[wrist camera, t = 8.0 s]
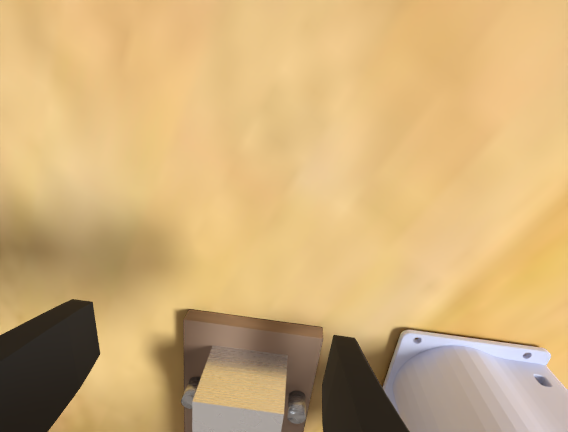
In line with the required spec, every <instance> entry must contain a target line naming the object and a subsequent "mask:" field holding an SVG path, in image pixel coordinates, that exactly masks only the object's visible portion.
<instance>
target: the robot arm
mask: <svg viewBox="0 0 568 432" xmlns="http://www.w3.org/2000/svg"><path fill="white" fill-rule="evenodd" d="M415 338H418V339H415ZM99 355H100V350H99V343H98V336H97V329H96V322H95V315H94V309H93V302H89V301H82V300H74V299H72V300H70V301H68V302H65V303H63V304H61V305H59V306H57V307H55V308H53V309H51V310H49V311H47V312H45V313H43V314H41V315H39V316H37V317H35V318H33V319H31V320H29V321H27V322H25V323H23V324H22V325H20V326H18V327H16V328H14V329H12V330H10V331H8V332H6V333H4V334H2V335H0V432H48V430H49V429H50V428H51V426H52V425H53V424H54V423H55V421H56V420H57V419H58V417H59V416H60V415H61V413H62V412H63V411H64V409H65V408H66V406H67V405H68V404H69V402H70V401H71V400H72V398H73V397H74V396H75V394H76V393H77V392H78V390H79V389H80V387H81V386H82V384H83V382H84V381H85V379H86V377H87V376H88V374H89V373H90V371H91V369H92V367H93V366H94V364H95V362H96V360H97V359H98V357H99ZM550 358H551V354H550V353H549V352H548V351H547V350H546V349H545V348H540V347H533V346H526V345H518V344H511V343H504V342H496V341H489V340H482V339H474V338H467V337H460V336H452V335H445V334H438V333H430V332H423V331H416V330H405V331H403V332H402V333H401V334H400V337H399V340H398V343H397V346H396V349H395V352H394V355H393V358H392V361H391V364H390V367H389V370H388V373H387V376H386V379H385V382H384V385H383V388H382V386H381V384H380V383H379V381H378V379H377V377H376V376H375V374H374V372H373V370H372V369H371V367H370V365H369V363H368V361H367V359H366V358H365V356H364V354H363V352H362V350H361V348H360V346H359V344H358V342H357V341H356V339H355V338H351V337H344V336H337V335H334V336H333V340H332V344H331V349H330V353H329V357H328V362H327V366H326V370H325V375H324V379H323V384H322V423H323V432H568V390H567V389H566V388H565V387H564V385H563V384H562V383H561V382H560V381H559V380H558V379H557V377H556V376H555V375H554V374H553V373H552V372H551V371H550V370H549V368H548V367H547V366H546V365H547V363H548V361H549V360H550Z"/></svg>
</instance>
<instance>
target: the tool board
mask: <svg viewBox="0 0 568 432" xmlns="http://www.w3.org/2000/svg"><path fill="white" fill-rule="evenodd" d="M322 342H323V329H322V327H315V326H308V325H301V324H293V323H286V322H279V321H271V320H264V319H257V318H249V317H242V316H235V315H227V314H220V313H213V312H205V311H198V310H191V309H189V310H188V312H187V314H186V316H185V318H184V395H183V397H182V400H181V403H182V405H183V406H184V424H185V432H192V401H193V398H194V396H195V393H196V390H197V387H198V384H199V382H200V379H201V376H202V373H203V371H204V368H205V365H206V362H207V360H208V357H209V354H210V351H211V349H212V346H213V345H215V346H222V347H229V348H237V349H244V350H252V351H259V352H267V353H274V354H281V355H288V359H287V375H286V390H285V406H284V417H283V423H282V429H281V432H303V431H304V426H305V422H306V417H307V412H308V408H309V403H310V398H311V394H312V389H313V384H314V380H315V375H316V370H317V366H318V361H319V356H320V352H321V347H322Z"/></svg>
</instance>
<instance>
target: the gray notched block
mask: <svg viewBox="0 0 568 432" xmlns="http://www.w3.org/2000/svg"><path fill="white" fill-rule="evenodd" d="M287 359H288V355H281V354H274V353H267V352H259V351H252V350H244V349H237V348H229V347H222V346H215V345H213V346H212V349H211V351H210V354H209V357H208V360H207V362H206V365H205V368H204V371H203V373H202V376H201V379H200V382H199V384H198V387H197V390H196V393H195V396H194V398H193V401H192V432H281V429H282V423H283V417H284V406H285V390H286V375H287Z"/></svg>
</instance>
